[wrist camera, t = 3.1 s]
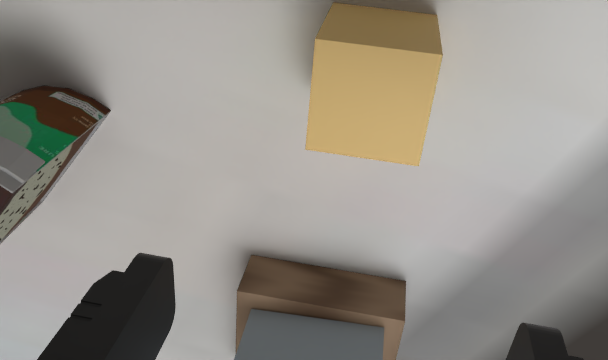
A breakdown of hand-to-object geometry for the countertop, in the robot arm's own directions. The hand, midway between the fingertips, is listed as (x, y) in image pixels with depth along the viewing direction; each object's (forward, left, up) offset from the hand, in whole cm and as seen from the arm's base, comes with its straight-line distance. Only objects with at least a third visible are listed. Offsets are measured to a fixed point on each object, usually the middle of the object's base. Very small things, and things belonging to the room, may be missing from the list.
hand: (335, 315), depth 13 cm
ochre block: (0, 0, -18) cm, 18 cm away
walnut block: (-1, -19, -19) cm, 27 cm away
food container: (-20, -7, -18) cm, 28 cm away
